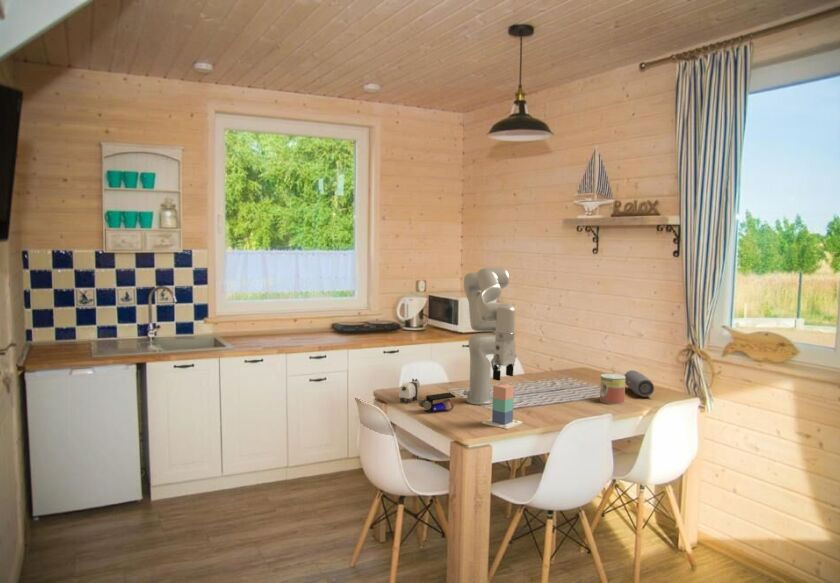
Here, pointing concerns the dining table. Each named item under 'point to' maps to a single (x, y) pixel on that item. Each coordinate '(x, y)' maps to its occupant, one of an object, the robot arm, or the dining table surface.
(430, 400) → the figurine character
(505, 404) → the teal brick
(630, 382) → the bluetooth speaker
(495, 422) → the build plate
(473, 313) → the robot arm
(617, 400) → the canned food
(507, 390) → the coral brick
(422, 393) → the dining table surface
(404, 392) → the giant panda
